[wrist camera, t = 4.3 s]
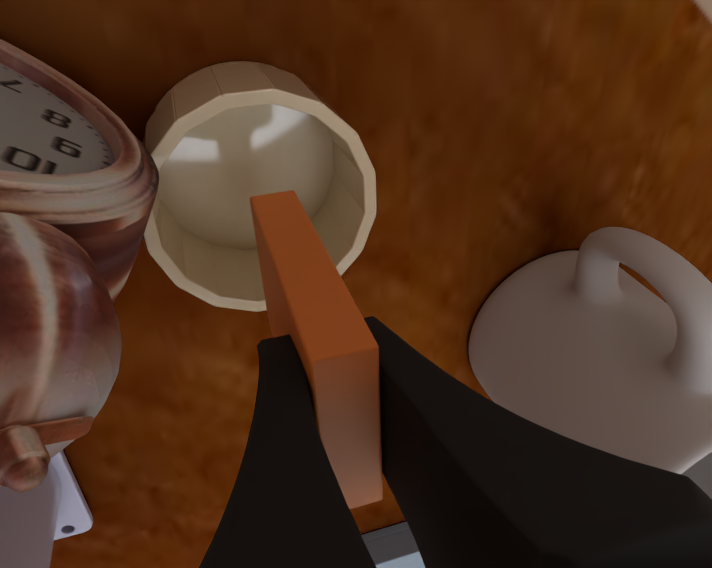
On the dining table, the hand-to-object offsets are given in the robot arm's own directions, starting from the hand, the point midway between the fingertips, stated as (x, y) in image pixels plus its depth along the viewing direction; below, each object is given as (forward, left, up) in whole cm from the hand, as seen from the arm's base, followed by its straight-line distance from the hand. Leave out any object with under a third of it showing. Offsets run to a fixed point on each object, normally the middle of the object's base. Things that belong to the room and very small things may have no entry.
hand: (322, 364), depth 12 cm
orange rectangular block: (0, 0, -5) cm, 5 cm away
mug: (+13, -8, -10) cm, 18 cm away
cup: (0, +1, -10) cm, 10 cm away
